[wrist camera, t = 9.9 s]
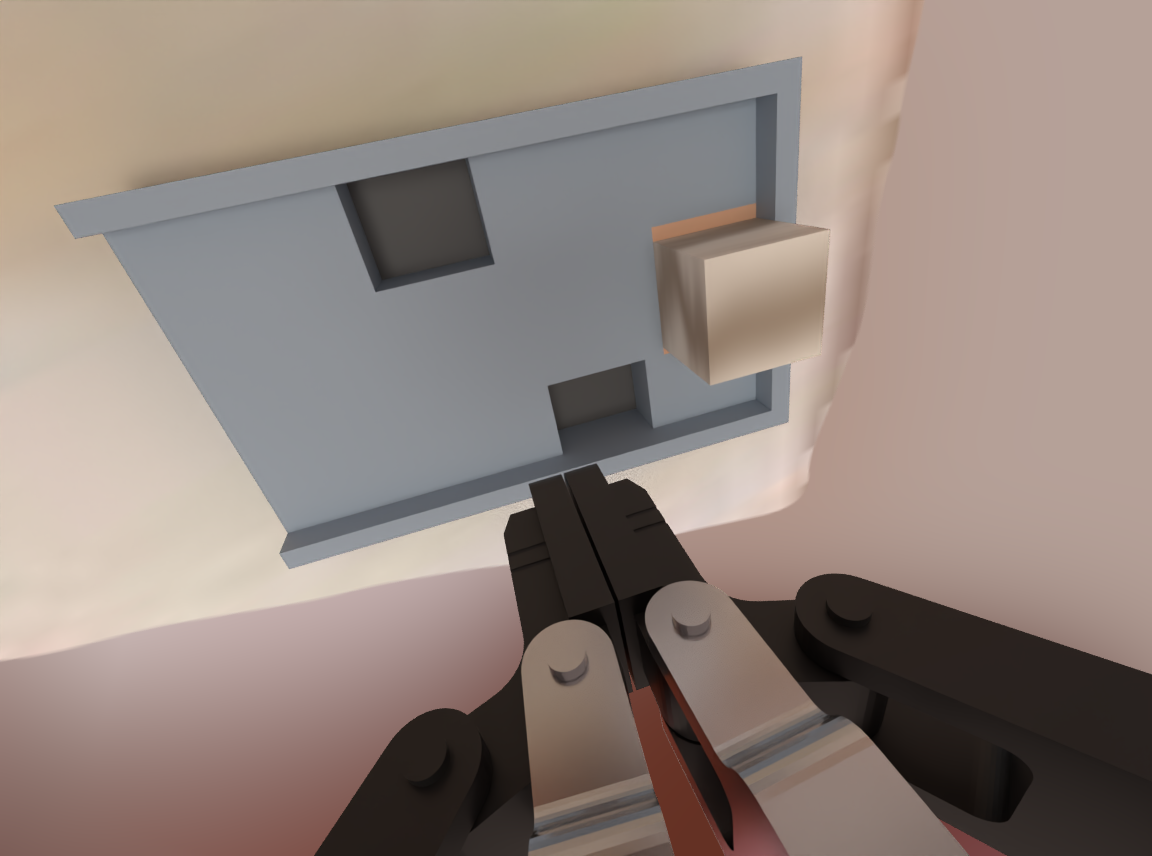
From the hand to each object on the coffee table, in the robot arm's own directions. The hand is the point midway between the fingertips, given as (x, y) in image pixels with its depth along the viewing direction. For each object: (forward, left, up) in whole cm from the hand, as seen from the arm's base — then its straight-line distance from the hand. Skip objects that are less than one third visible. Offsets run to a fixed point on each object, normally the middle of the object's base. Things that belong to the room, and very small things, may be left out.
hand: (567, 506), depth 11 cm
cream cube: (0, +10, -13) cm, 17 cm away
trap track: (0, 0, -16) cm, 16 cm away
